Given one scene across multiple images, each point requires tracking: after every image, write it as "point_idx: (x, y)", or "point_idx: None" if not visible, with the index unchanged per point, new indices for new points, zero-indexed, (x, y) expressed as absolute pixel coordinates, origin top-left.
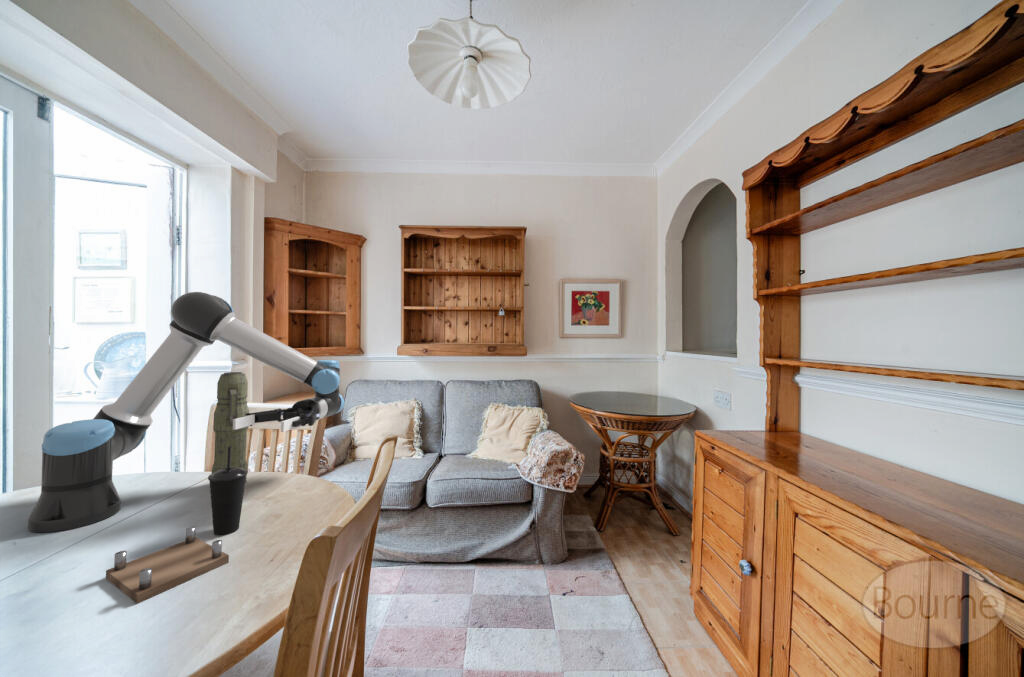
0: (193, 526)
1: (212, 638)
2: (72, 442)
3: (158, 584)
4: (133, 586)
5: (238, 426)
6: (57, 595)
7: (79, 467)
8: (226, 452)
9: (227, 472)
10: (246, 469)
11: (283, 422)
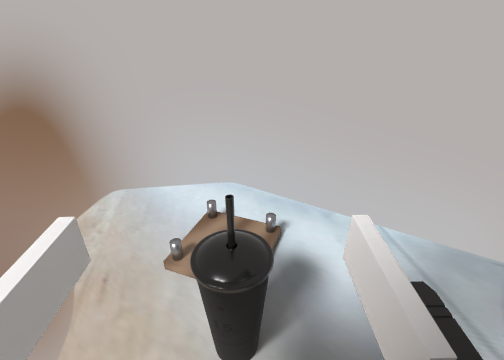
0: None
1: (118, 202)
2: None
3: (203, 219)
4: (224, 215)
5: (351, 262)
6: (292, 215)
7: None
8: None
9: (220, 236)
10: (207, 283)
11: (62, 220)
